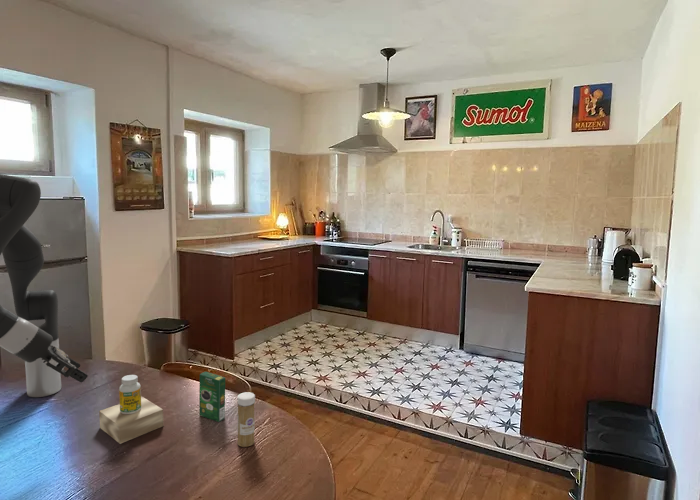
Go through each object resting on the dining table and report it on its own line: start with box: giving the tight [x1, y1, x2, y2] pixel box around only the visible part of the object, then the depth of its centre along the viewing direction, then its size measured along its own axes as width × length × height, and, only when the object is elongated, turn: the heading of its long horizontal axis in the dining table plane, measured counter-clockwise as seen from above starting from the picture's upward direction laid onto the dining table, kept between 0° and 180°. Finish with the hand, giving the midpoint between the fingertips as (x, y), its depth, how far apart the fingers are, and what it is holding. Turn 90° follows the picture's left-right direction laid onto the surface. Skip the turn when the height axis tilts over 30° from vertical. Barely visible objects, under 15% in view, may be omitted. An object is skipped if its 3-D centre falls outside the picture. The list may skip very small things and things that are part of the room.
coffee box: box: [198, 371, 226, 423], centre depth 132 cm, size 8×3×13 cm, turn 63°
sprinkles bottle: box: [236, 391, 256, 448], centre depth 119 cm, size 5×5×13 cm
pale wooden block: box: [98, 395, 164, 445], centre depth 126 cm, size 12×12×5 cm
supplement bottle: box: [118, 374, 142, 414], centre depth 125 cm, size 5×5×10 cm
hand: (81, 373), depth 116 cm, fingers open, 8 cm apart
